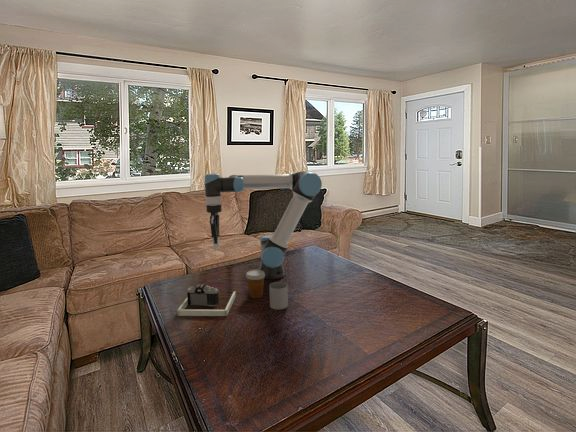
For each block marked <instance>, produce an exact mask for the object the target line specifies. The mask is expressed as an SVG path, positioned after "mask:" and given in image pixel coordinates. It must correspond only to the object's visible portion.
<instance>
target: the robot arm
mask: <svg viewBox="0 0 576 432" xmlns="http://www.w3.org/2000/svg"><path fill="white" fill-rule="evenodd" d="M322 184H323V183H322V179H321V177H320V175H318V173H316V172H313V171H310V170H304V171H303V170H302V171H295V172H292V171H291V172H290V173H287V174H286V173H285V174H282V173H281V174H243V175H242V174H241V175H240V174H239V175H238V174H237V175H236V174H231V175H229V176H228V177H222V176H220V173H206V174H205V175H204V193H205V198H204V200H205V204H206V209H205V210H206V213H209V214H210V216H209V225H210V231H211V233H210V234H211V237H210V238H212V241H213V250H220V238H219V237H220V236H221V234H220V217H221V216H220V215H219V213H221V212H222V195H221V193H239V192H241V193H242V192H244V190H256V189H260V190H262V189H263V190H264V189H265V190H266V189H289V190H291V191H292V194H293V196H292V197H291V199H290V201H289V203H288V205H287V207H286V210H285V211H284V213H283V215H282V217H281V219H280V221H279V223H278V224H277V227H276V228H275V230H274V233H273V235H264V236H261V237H260V241H259V242H260V265H259V268H258V270H262V271H264V273H265V277H264V280H278V279H281V278H283V277H285V275H286V274H285V269H284V265H283V262H284V261H285V260H284V259H285V255H286V252H287V251H288V249H289V245H288V243H289V240H290V239H291V237H292V235H293V233H294V231H295V229H296V227H297V226H298V223H299V221H300V220H301V217H302V216H303V214H304V212H305V210H306V208H307V207H308V204H310V203H311V202H313V201H314V199H315V197H316V195H318V194H319V193H320V191H321V190H322V187H323V185H322Z"/></svg>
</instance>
